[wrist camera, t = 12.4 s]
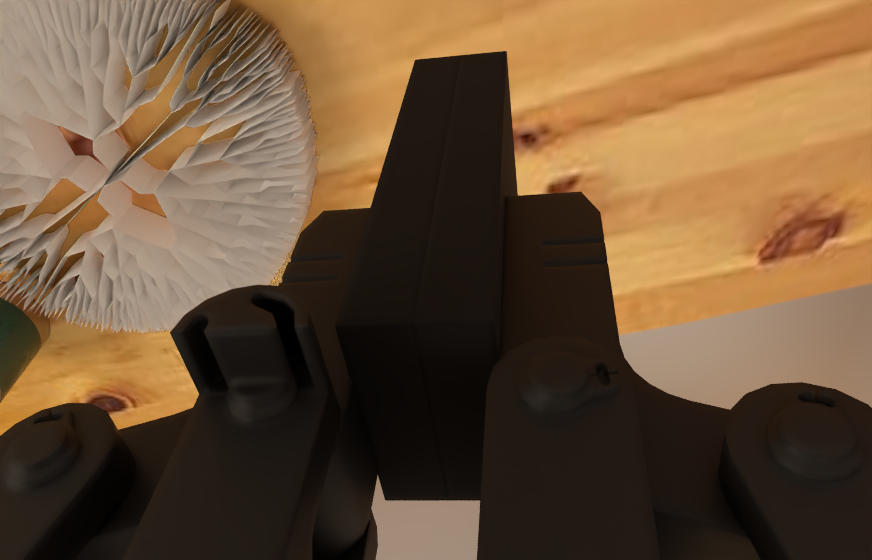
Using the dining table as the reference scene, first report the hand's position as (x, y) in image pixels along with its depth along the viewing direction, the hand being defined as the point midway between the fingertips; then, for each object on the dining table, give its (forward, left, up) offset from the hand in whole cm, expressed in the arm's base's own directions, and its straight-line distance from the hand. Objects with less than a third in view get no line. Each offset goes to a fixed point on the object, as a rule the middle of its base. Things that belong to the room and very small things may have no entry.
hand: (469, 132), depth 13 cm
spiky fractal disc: (+13, -24, -27) cm, 39 cm away
